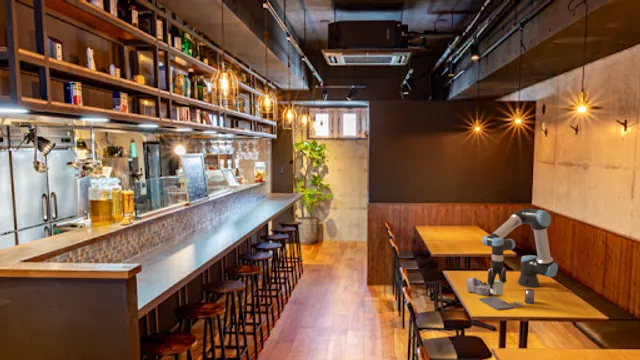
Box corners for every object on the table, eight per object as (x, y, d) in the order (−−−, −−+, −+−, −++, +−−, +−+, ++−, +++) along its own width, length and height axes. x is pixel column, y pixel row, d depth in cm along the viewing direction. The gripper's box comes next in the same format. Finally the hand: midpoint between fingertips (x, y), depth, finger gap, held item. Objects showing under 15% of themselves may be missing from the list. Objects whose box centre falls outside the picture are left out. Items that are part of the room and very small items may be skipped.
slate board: (495, 298, 302) (495, 296, 302) (514, 308, 283) (514, 306, 283) (478, 300, 299) (478, 298, 299) (497, 310, 279) (497, 308, 279)
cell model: (468, 274, 324) (496, 278, 314) (467, 288, 324) (495, 292, 315) (465, 279, 312) (494, 283, 303) (464, 293, 313) (493, 298, 303)
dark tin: (529, 300, 296) (530, 288, 296) (536, 303, 291) (536, 291, 290) (522, 301, 295) (523, 289, 294) (528, 304, 289) (529, 292, 289)
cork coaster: (517, 302, 294) (517, 301, 294) (526, 306, 286) (526, 305, 286) (508, 303, 292) (508, 302, 292) (516, 307, 284) (516, 306, 284)
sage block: (497, 291, 294) (497, 280, 293) (503, 294, 288) (503, 282, 287) (490, 291, 292) (490, 280, 292) (495, 294, 287) (495, 283, 286)
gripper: (505, 257, 294) (504, 289, 296) (482, 259, 290) (481, 292, 291) (512, 260, 287) (511, 293, 289) (489, 262, 282) (488, 295, 284)
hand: (496, 292), depth 290 cm, fingers closed on sage block, 6 cm apart
